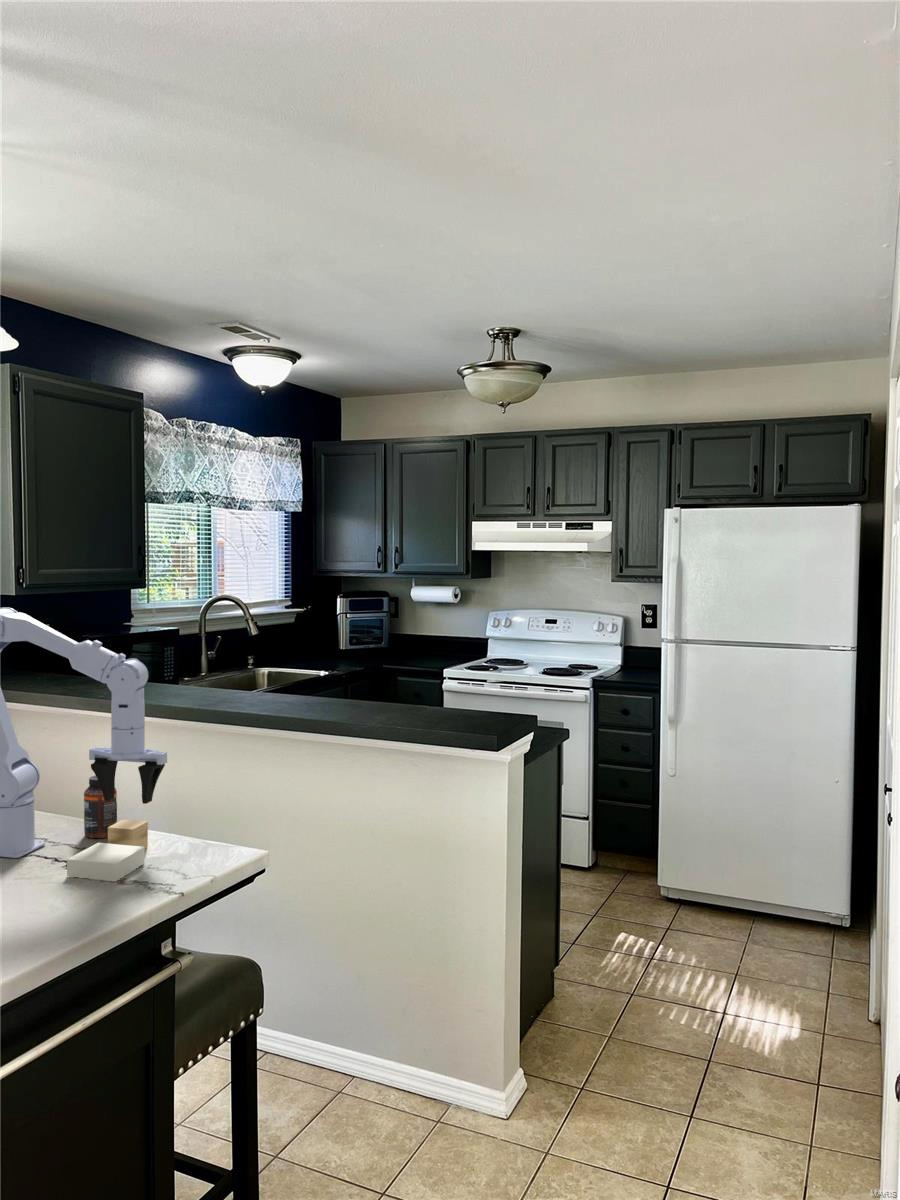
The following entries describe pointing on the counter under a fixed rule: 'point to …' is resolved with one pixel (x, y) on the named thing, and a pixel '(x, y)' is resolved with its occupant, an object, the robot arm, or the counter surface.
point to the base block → (105, 861)
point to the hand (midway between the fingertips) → (128, 800)
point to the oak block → (129, 833)
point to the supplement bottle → (98, 810)
